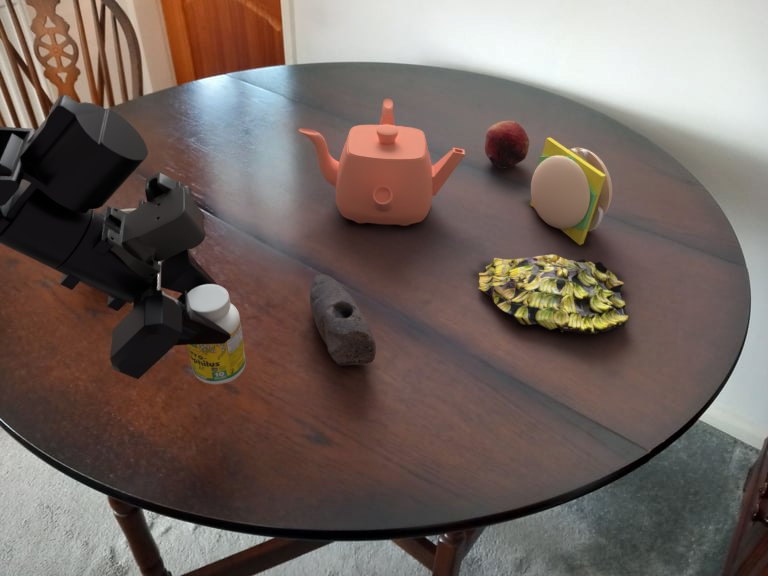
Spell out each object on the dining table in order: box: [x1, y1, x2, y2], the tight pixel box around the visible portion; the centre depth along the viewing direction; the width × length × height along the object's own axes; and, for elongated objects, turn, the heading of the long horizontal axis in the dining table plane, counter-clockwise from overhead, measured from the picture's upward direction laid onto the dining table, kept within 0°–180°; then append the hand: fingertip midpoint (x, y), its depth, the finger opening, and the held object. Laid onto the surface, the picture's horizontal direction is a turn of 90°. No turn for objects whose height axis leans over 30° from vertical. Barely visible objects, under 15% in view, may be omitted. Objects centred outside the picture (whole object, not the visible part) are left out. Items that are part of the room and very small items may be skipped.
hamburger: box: [529, 137, 613, 246], centre depth 95 cm, size 12×8×12 cm
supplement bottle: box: [186, 284, 247, 385], centre depth 61 cm, size 5×5×10 cm
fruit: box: [484, 120, 530, 169], centre depth 108 cm, size 8×8×8 cm
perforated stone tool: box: [309, 273, 377, 367], centre depth 75 cm, size 15×5×7 cm, turn 22°
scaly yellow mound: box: [478, 254, 630, 335], centre depth 84 cm, size 20×16×7 cm
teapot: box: [298, 98, 466, 227], centre depth 94 cm, size 18×18×14 cm
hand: (226, 318), depth 60 cm, fingers closed on supplement bottle, 5 cm apart
